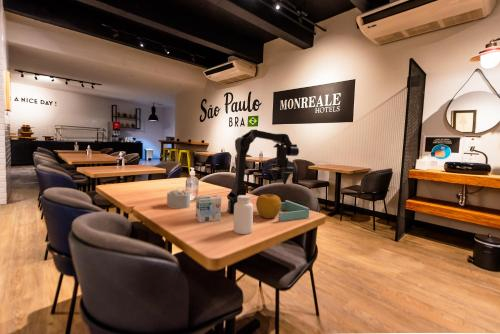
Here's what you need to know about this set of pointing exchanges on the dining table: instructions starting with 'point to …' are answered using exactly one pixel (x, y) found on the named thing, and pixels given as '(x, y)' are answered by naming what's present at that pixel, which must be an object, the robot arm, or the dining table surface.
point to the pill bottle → (243, 215)
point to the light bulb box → (208, 208)
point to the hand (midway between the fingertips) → (280, 182)
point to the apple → (268, 205)
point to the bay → (292, 211)
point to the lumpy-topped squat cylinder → (178, 199)
